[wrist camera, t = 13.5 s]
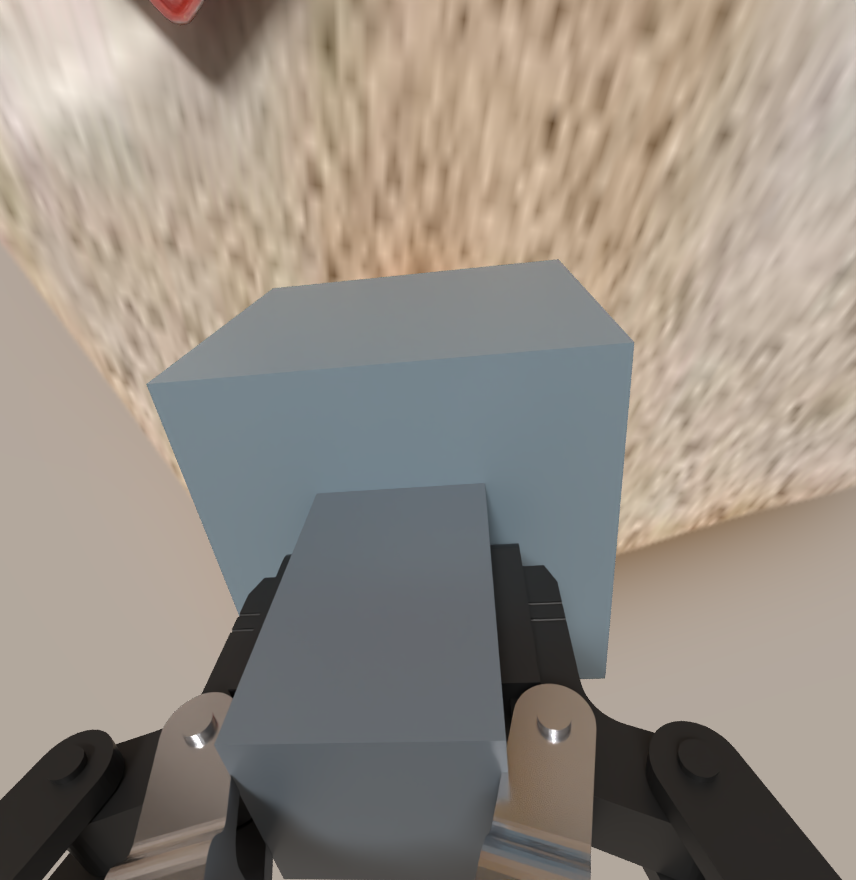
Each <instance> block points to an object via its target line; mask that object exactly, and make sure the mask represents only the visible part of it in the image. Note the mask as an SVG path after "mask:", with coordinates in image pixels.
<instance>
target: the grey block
mask: <svg viewBox="0 0 856 880" xmlns="http://www.w3.org/2000/svg"><path fill="white" fill-rule="evenodd" d="M633 351H634V342H633V340H632V339H631V338H630V337H629V336H628V335H627V334H626V333H625V332H624V331H623V329H622V328H621V327H620V326H619V325H618V324H617V323H616V322H615V321H614V320H613V319H612V317H611V316H610V315H609V314H608V313H607V312H606V311H605V310H604V309H603V308H602V307H601V305H600V304H599V303H598V302H597V301H596V300H595V299H594V298H593V297H592V296H591V294H590V293H589V292H588V291H587V290H586V289H585V288H584V287H583V286H582V285H581V284H580V282H579V281H578V280H577V279H576V278H575V277H574V276H573V275H572V274H571V273H570V272H569V270H568V269H567V268H566V267H565V266H564V265H563V264H562V263H561V262H560V261H559V260H558V259H557V260H547V261H538V262H528V263H518V264H508V265H498V266H488V267H479V268H469V269H459V270H449V271H439V272H430V273H420V274H410V275H400V276H390V277H381V278H371V279H361V280H351V281H341V282H331V283H322V284H312V285H302V286H292V287H282V288H273V289H272V290H270V291H269V292H268V293H266V294H265V295H264V296H262V297H261V298H260V299H258V300H257V301H256V302H254V303H253V304H252V305H250V306H249V307H248V308H246V309H245V310H244V311H242V312H241V313H240V314H238V315H237V316H236V317H235V318H233V319H232V320H231V321H229V322H228V323H227V324H225V325H224V326H223V327H221V328H220V329H219V330H217V331H216V332H215V333H213V334H212V335H211V336H209V337H208V338H207V339H205V340H204V341H203V342H201V343H200V344H199V345H197V346H196V347H195V348H194V349H192V350H191V351H190V352H188V353H187V354H186V355H184V356H183V357H182V358H180V359H179V360H178V361H176V362H175V363H174V364H172V365H171V366H170V367H168V368H167V369H166V370H164V371H163V372H162V373H160V374H159V375H158V376H157V377H155V378H154V379H153V380H151V381H150V382H149V383H147V387H148V389H149V392H150V394H151V397H152V399H153V402H154V404H155V407H156V409H157V412H158V414H159V417H160V419H161V422H162V424H163V427H164V429H165V432H166V434H167V437H168V439H169V442H170V444H171V447H172V449H173V452H174V454H175V457H176V459H177V462H178V464H179V467H180V469H181V472H182V474H183V477H184V479H185V482H186V484H187V487H188V489H189V492H190V494H191V497H192V499H193V502H194V504H195V506H196V509H197V512H198V514H199V517H200V519H201V521H202V524H203V526H204V529H205V531H206V534H207V536H208V539H209V541H210V544H211V546H212V549H213V551H214V554H215V556H216V559H217V561H218V564H219V566H220V569H221V571H222V574H223V576H224V579H225V581H226V584H227V586H228V589H229V591H230V594H231V596H232V599H233V601H234V604H235V606H236V609H237V611H238V614H239V616H240V611H241V609H242V607H243V605H244V603H245V601H246V598H247V596H248V594H249V593H250V592H251V591H252V590H253V589H254V588H255V587H256V586H257V585H258V584H259V583H260V582H261V581H262V580H263V579H264V578H269V577H276V575H277V573H278V570H279V568H280V566H281V563H282V561H283V559H284V557H285V556H286V555H289V554H292V555H291V557H290V560H289V562H288V565H287V567H286V570H285V572H284V575H283V577H282V580H281V582H280V584H279V587H278V589H277V592H276V594H275V597H274V599H273V602H272V604H271V606H270V609H269V611H268V614H267V616H266V619H265V621H264V624H263V626H262V628H261V631H260V633H259V636H258V638H257V641H256V643H255V646H254V648H253V651H252V653H251V655H250V658H249V660H248V663H247V665H246V668H245V670H244V673H243V675H242V677H241V680H240V682H239V685H238V687H237V690H236V692H235V695H234V697H233V700H232V702H231V704H230V707H229V709H228V712H227V714H226V717H225V719H224V722H223V724H222V726H221V729H220V731H219V734H218V736H217V739H216V741H215V744H214V746H215V748H216V750H217V752H218V754H219V756H220V758H221V759H222V761H223V763H224V765H225V767H226V769H227V771H228V773H229V775H232V777H233V779H234V781H235V783H236V785H237V787H238V789H239V791H240V796H241V798H242V800H243V802H244V803H245V805H246V807H247V809H248V811H249V813H250V815H251V817H252V819H253V821H254V823H255V824H256V826H257V828H258V830H259V832H260V834H261V836H262V838H263V840H264V842H266V843H267V845H268V847H269V848H270V850H271V852H272V854H273V859H274V861H275V863H276V865H277V867H278V868H279V870H280V872H281V874H282V876H283V878H284V879H331V880H332V879H333V880H334V879H335V880H475V877H476V872H477V867H478V862H479V858H480V853H481V849H482V846H483V842H484V839H485V837H486V835H487V834H489V832H490V829H491V826H492V822H493V817H494V812H495V806H496V801H497V796H498V791H499V785H500V780H501V775H502V772H508V764H507V747H506V733H505V721H504V709H503V697H502V685H501V673H500V661H499V648H498V636H497V624H496V612H495V600H494V588H493V576H492V563H491V551H490V545H494V544H514V543H519V547H520V554H521V560H522V566H536V565H544V566H545V567H546V568H547V569H548V571H549V572H550V573H551V574H552V576H553V577H554V578H555V579H556V580H557V582H558V587H559V591H560V595H561V600H562V605H563V608H564V613H565V617H566V621H567V626H568V630H569V634H570V639H571V643H572V647H573V651H574V656H575V660H576V664H577V669H578V673H579V677H580V679H600V678H605V673H606V661H607V650H608V638H609V626H610V615H611V604H612V592H613V580H614V569H615V558H616V546H617V535H618V523H619V512H620V500H621V489H622V477H623V466H624V454H625V443H626V431H627V420H628V408H629V397H630V385H631V374H632V362H633Z"/></svg>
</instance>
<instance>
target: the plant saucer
mask: <svg viewBox="0 0 856 880" xmlns="http://www.w3.org/2000/svg"><path fill="white" fill-rule="evenodd" d="M149 1H150V2H151V3H152V4H153V5H154V6H155V7H156V9H157V10H158V11H159V12H160V13H161V14H162V15H163V16H164V17H165V18H166V19H168V20H169V21H170V22H172V23H174V24H178V25H185V24H189V23H190V22H191V21H192V20H193V19H194V17H195V15H196V14H197V12H198V11H199V9H200V7H201V6H202V4H203V2H204V1H205V0H149Z"/></svg>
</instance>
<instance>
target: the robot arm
mask: <svg viewBox="0 0 856 880" xmlns="http://www.w3.org/2000/svg"><path fill="white" fill-rule="evenodd" d="M490 551H491V563H492V576H493V588H494V600H495V612H496V624H497V636H498V648H499V661H500V673H501V685H502V697H503V709H504V721H505V733H506V747H507V764H508V772H502V775H501V780H500V785H499V791H498V796H497V801H496V806H495V812H494V817H493V822H492V826H491V829H490V832H489V834H487V835H486V837H485V839H484V842H483V846H482V849H481V853H480V858H479V862H478V867H477V872H476V877H475V880H590V878H591V847H594V848H597V849H599V850H602V851H604V852H607V853H609V854H612V855H615V856H618V857H620V858H622V859H625V860H627V861H630V862H632V863H635V864H638V865H640V866H642V867H643V869H644V871H645V872H646V874H647V876H648V878H649V880H842V879H841V878H840V877H839V875H838V874H837V873H836V872H835V871H834V869H833V868H832V867H831V866H830V864H829V863H828V862H827V861H826V860H825V858H824V857H823V856H822V855H821V853H820V852H819V851H818V850H817V849H816V847H815V846H814V845H813V844H812V842H811V841H810V840H809V839H808V838H807V837H806V835H805V834H804V833H803V832H802V830H801V829H800V828H799V827H798V825H797V824H796V823H795V822H794V820H793V819H792V818H791V817H790V815H789V814H788V813H787V812H786V811H785V809H784V808H783V807H782V806H781V804H780V803H779V802H778V801H777V800H776V798H775V797H774V796H773V795H772V793H771V792H770V791H769V790H768V789H767V787H766V786H765V785H764V784H763V782H762V781H761V780H760V779H759V778H758V776H757V775H756V774H755V773H754V771H753V770H752V769H751V768H750V767H749V765H748V764H747V763H746V762H745V761H744V759H743V758H742V757H741V756H740V754H739V753H738V752H737V751H736V749H735V748H734V747H733V746H732V745H731V744H730V743H729V742H728V741H727V740H726V739H725V738H723V737H722V736H721V735H719V734H718V733H716V732H715V731H713V730H711V729H710V728H708V727H706V726H703V725H700V724H697V723H692V722H687V721H677V722H671V723H668V724H665V725H663V726H662V727H660V728H659V729H658V730H657V731H656V732H655V733H653V732H650V731H647V730H643V729H639V728H636V727H633V726H630V725H626V724H623V723H620V722H618V721H615V720H614V719H612V718H610V717H608V716H607V715H605V714H603V713H602V712H601V711H600V710H599V709H597V708H596V707H595V706H594V705H593V704H592V702H591V701H590V700H589V699H588V697H587V696H586V694H585V692H584V690H583V688H582V685H581V682H580V677H579V673H578V669H577V664H576V660H575V656H574V651H573V647H572V643H571V639H570V634H569V630H568V626H567V621H566V617H565V613H564V608H563V605H562V600H561V595H560V591H559V587H558V582H557V580H556V579H555V578H554V577H553V576H552V574H551V573H550V572H549V571H548V569H547V568H546V567H545V566H544V565H536V566H522V560H521V554H520V547H519V543H514V544H494V545H490ZM291 555H292V554H289V555H286V556H285V557H284V559H283V561H282V563H281V566H280V568H279V570H278V573H277V575H276V577H269V578H264V579H263V580H262V581H261V582H260V583H259V584H258V585H257V586H256V587H255V588H254V589H253V590H252V591H251V592H250V593H249V594H248V596H247V598H246V601H245V603H244V605H243V607H242V609H241V611H240V616H239V617H238V618H237V620H236V622H235V624H234V626H233V628H232V633H230V635H229V637H228V639H227V641H226V643H225V646H224V648H223V650H222V652H221V654H220V656H219V658H218V660H217V663H216V665H215V667H214V669H213V671H212V673H211V675H210V678H209V680H208V682H207V684H206V686H205V688H204V690H203V692H202V694H201V695H199V696H197V697H194V698H192V699H191V700H189V701H187V702H186V703H184V704H183V705H182V706H180V707H179V708H178V709H177V710H176V711H175V712H174V713H173V714H172V716H171V717H170V718H169V719H168V721H167V722H166V724H165V725H164V728H163V729H160V730H158V731H155V732H152V733H149V734H146V735H143V736H140V737H137V738H134V739H131V740H128V741H125V742H122V743H119V744H115V743H114V741H113V740H112V738H111V737H110V736H109V735H108V734H107V733H106V732H104V731H101V730H87V731H83V732H80V733H77V734H75V735H72V736H70V737H69V738H67V739H65V740H63V741H62V742H60V743H59V744H57V745H56V746H55V747H53V748H52V749H51V750H50V751H49V752H48V753H47V754H46V755H44V756H43V757H42V758H41V759H40V760H39V762H37V763H36V764H35V765H34V766H33V767H32V769H31V770H30V771H29V772H28V773H27V774H26V775H25V776H24V777H23V778H22V779H21V780H20V781H19V782H18V783H17V784H16V785H15V786H14V787H13V788H12V789H11V790H10V791H9V792H8V793H7V794H6V795H5V796H4V797H3V798H2V799H1V800H0V880H42V879H43V878H44V877H45V876H46V874H47V873H48V872H49V871H50V869H51V868H52V867H53V866H54V865H55V863H56V862H57V861H58V860H59V858H60V857H61V856H62V855H63V853H65V851H66V850H68V851H69V852H70V853H69V854H68V856H67V857H66V858H65V859H64V861H63V862H62V863H61V864H60V865H59V867H58V868H57V869H56V871H55V872H54V873H53V874H52V875H51V876H50V878H49V879H48V880H272V866H273V864H272V863H273V854H272V852H271V850H270V848H269V847H268V845H267V843H266V842H264V840H263V838H262V836H261V834H260V832H259V830H258V828H257V826H256V824H255V823H254V821H253V819H252V817H251V815H250V813H249V811H248V809H247V807H246V805H245V803H244V802H243V800H242V798H241V796H240V791H239V789H238V787H237V785H236V783H235V781H234V779H233V777H232V775H229V773H228V771H227V769H226V767H225V765H224V763H223V761H222V759H221V758H220V756H219V754H218V752H217V750H216V748H215V746H214V744H215V741H216V739H217V736H218V734H219V731H220V729H221V726H222V724H223V722H224V719H225V717H226V714H227V712H228V709H229V707H230V704H231V702H232V700H233V697H234V695H235V692H236V690H237V687H238V685H239V682H240V680H241V677H242V675H243V673H244V670H245V668H246V665H247V663H248V660H249V658H250V655H251V653H252V651H253V648H254V646H255V643H256V641H257V638H258V636H259V633H260V631H261V628H262V626H263V624H264V621H265V619H266V616H267V614H268V611H269V609H270V606H271V604H272V602H273V599H274V597H275V594H276V592H277V589H278V587H279V584H280V582H281V580H282V577H283V575H284V572H285V570H286V567H287V565H288V562H289V560H290V557H291Z"/></svg>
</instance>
